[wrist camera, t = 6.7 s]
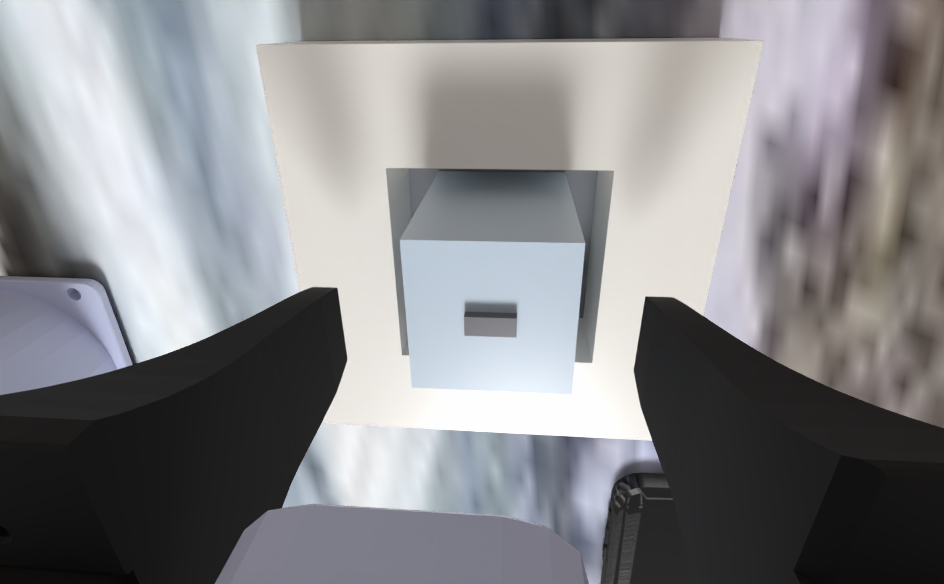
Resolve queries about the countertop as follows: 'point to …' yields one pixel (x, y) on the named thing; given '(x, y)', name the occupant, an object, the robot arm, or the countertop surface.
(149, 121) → the countertop surface
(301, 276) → the block
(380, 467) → the countertop surface
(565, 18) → the countertop surface
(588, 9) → the countertop surface
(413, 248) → the block
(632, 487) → the phone
